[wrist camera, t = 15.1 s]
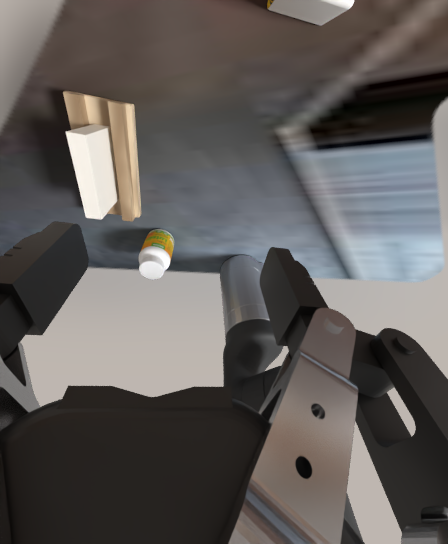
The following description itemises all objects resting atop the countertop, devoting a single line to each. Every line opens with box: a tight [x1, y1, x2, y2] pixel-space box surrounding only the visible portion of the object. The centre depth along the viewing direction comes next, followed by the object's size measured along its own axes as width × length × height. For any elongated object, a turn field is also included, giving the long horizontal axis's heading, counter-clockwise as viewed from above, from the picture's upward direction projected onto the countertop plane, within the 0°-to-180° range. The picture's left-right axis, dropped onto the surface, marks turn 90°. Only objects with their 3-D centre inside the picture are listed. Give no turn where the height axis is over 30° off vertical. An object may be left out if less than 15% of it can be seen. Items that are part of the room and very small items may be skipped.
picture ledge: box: [63, 91, 141, 221], centre depth 33 cm, size 8×16×3 cm, turn 170°
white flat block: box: [66, 124, 119, 219], centre depth 30 cm, size 2×10×8 cm, turn 170°
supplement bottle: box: [139, 229, 174, 280], centre depth 39 cm, size 5×5×10 cm
